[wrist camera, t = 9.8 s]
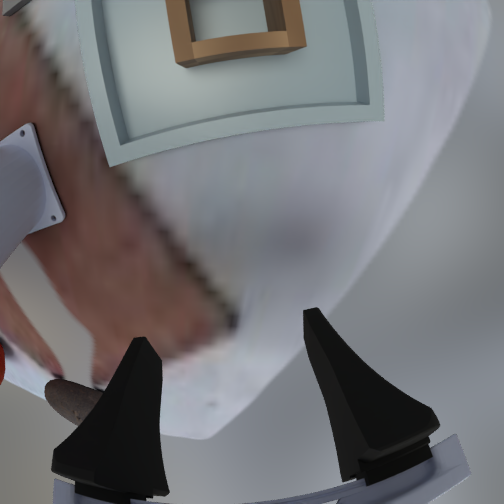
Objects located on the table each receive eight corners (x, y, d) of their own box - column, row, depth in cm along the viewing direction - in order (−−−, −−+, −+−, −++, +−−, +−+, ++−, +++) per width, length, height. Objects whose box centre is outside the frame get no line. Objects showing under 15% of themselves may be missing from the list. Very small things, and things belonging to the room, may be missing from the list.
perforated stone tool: (48, 376, 30) (38, 414, 24) (50, 363, 28) (38, 405, 22) (133, 410, 36) (130, 447, 31) (143, 401, 34) (140, 442, 29)
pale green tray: (122, 155, 15) (109, 167, 13) (89, -24, 7) (73, -34, 5) (365, 114, 16) (384, 121, 14) (335, -59, 7) (350, -72, 5)
